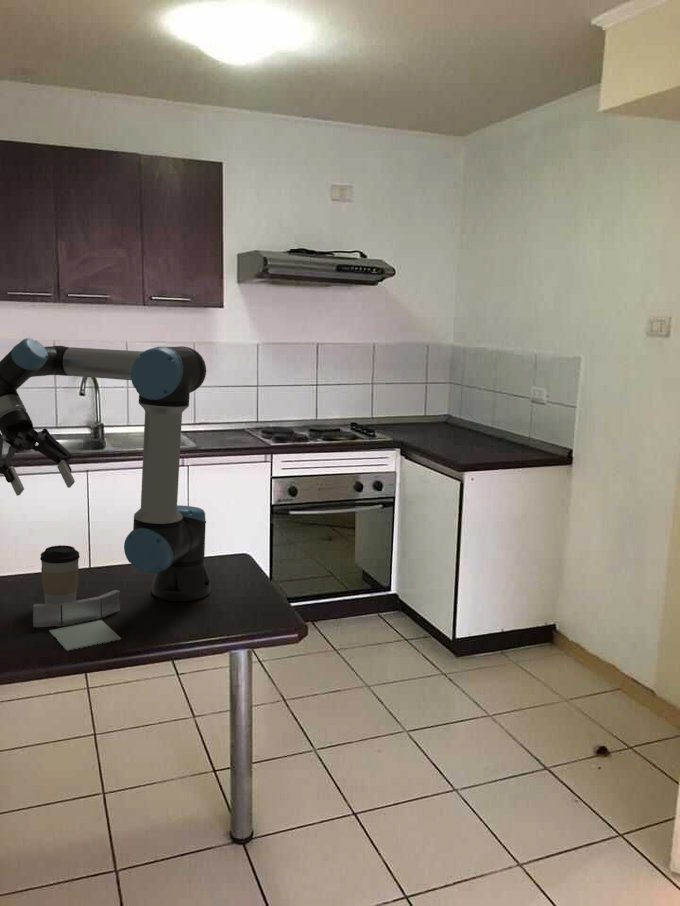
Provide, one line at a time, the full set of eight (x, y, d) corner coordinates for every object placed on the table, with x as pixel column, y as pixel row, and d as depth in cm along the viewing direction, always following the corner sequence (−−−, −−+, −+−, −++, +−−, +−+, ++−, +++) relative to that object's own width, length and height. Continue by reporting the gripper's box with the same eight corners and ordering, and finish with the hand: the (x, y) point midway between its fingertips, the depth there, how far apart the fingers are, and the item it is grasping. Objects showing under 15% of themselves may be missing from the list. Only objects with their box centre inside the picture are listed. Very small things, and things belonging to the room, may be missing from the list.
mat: (101, 621, 181) (101, 619, 181) (120, 639, 171) (120, 637, 171) (49, 631, 173) (49, 630, 173) (66, 651, 164) (66, 649, 164)
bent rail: (117, 608, 189) (117, 589, 188) (124, 614, 186) (124, 594, 185) (31, 625, 176) (31, 604, 176) (36, 631, 173) (36, 610, 172)
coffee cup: (47, 599, 193) (46, 541, 190) (84, 600, 193) (83, 542, 191) (35, 612, 184) (34, 552, 181) (74, 613, 184) (74, 553, 182)
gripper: (50, 423, 202) (84, 489, 196) (-44, 430, 182) (-9, 504, 176) (62, 406, 198) (97, 473, 192) (-32, 411, 178) (3, 486, 172)
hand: (46, 488), depth 184 cm, fingers open, 13 cm apart
